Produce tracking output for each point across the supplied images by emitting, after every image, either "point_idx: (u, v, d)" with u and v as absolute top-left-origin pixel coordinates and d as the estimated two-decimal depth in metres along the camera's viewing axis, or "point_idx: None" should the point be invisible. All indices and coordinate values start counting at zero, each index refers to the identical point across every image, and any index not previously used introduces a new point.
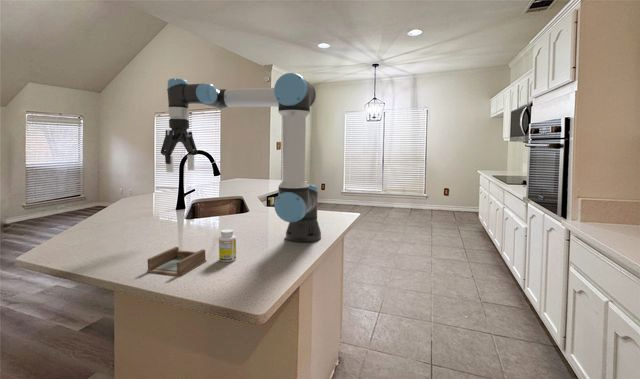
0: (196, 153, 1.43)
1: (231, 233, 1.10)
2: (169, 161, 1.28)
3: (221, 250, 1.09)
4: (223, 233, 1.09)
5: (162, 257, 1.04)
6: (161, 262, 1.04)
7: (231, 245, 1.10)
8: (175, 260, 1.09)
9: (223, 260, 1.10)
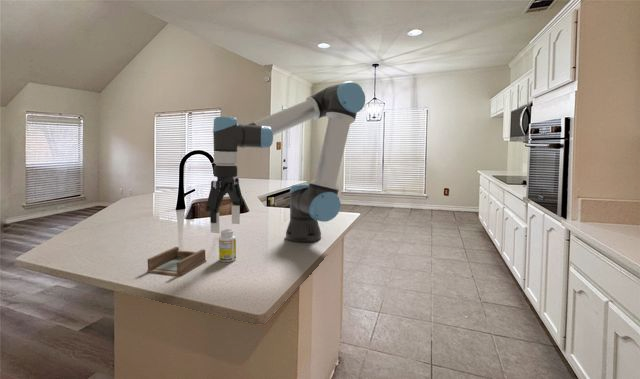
0: (242, 203, 1.17)
1: (231, 233, 1.10)
2: (215, 220, 1.03)
3: (221, 250, 1.09)
4: (223, 233, 1.09)
5: (162, 257, 1.04)
6: (161, 262, 1.04)
7: (231, 245, 1.10)
8: (175, 260, 1.09)
9: (223, 260, 1.10)
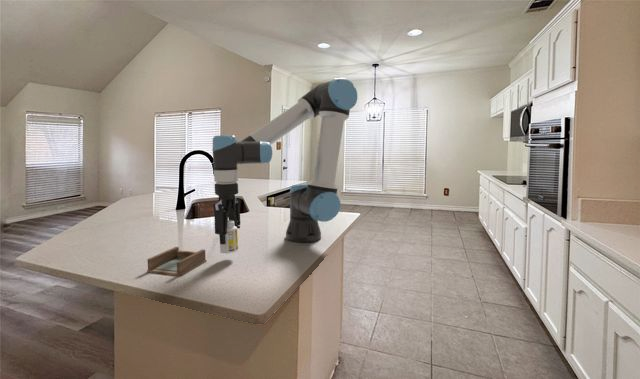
0: None
1: (232, 224, 1.10)
2: (224, 241, 1.07)
3: None
4: None
5: (162, 257, 1.04)
6: (161, 262, 1.04)
7: (233, 236, 1.10)
8: (175, 260, 1.09)
9: None
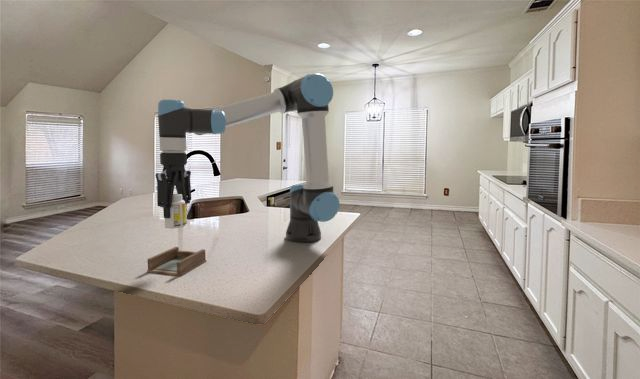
0: (189, 202, 1.07)
1: (179, 197, 1.02)
2: (169, 215, 0.99)
3: None
4: None
5: (162, 257, 1.04)
6: (161, 262, 1.04)
7: (179, 210, 1.01)
8: (175, 260, 1.09)
9: None
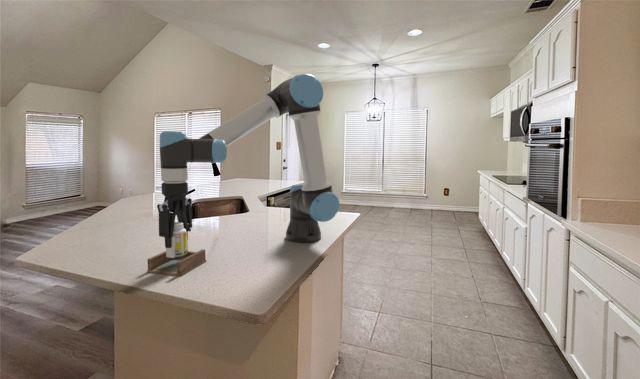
0: (190, 229, 1.08)
1: (180, 226, 1.03)
2: (170, 244, 1.00)
3: None
4: None
5: (162, 257, 1.04)
6: (161, 262, 1.04)
7: (180, 239, 1.02)
8: (175, 260, 1.09)
9: None
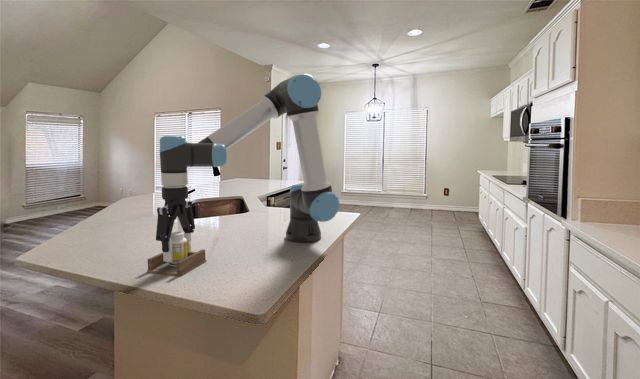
0: (193, 231, 1.09)
1: (181, 236, 1.03)
2: (167, 249, 0.99)
3: None
4: (172, 236, 1.02)
5: (162, 257, 1.04)
6: (161, 262, 1.04)
7: (181, 249, 1.02)
8: None
9: (172, 265, 1.02)
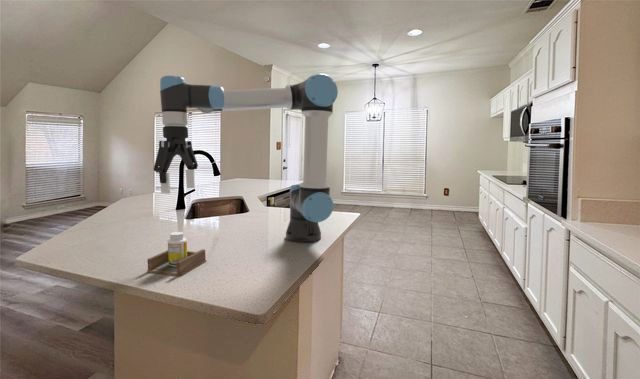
0: None
1: (181, 236, 1.03)
2: (165, 180, 1.02)
3: (169, 254, 1.02)
4: (172, 236, 1.02)
5: (162, 257, 1.04)
6: (161, 262, 1.04)
7: (181, 249, 1.02)
8: None
9: (172, 265, 1.02)
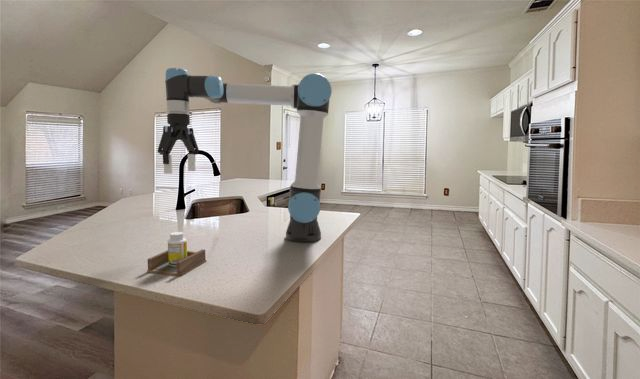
0: (197, 152, 1.28)
1: (181, 236, 1.03)
2: (167, 161, 1.13)
3: (169, 254, 1.02)
4: (172, 236, 1.02)
5: (162, 257, 1.04)
6: (161, 262, 1.04)
7: (181, 249, 1.02)
8: None
9: (172, 265, 1.02)
